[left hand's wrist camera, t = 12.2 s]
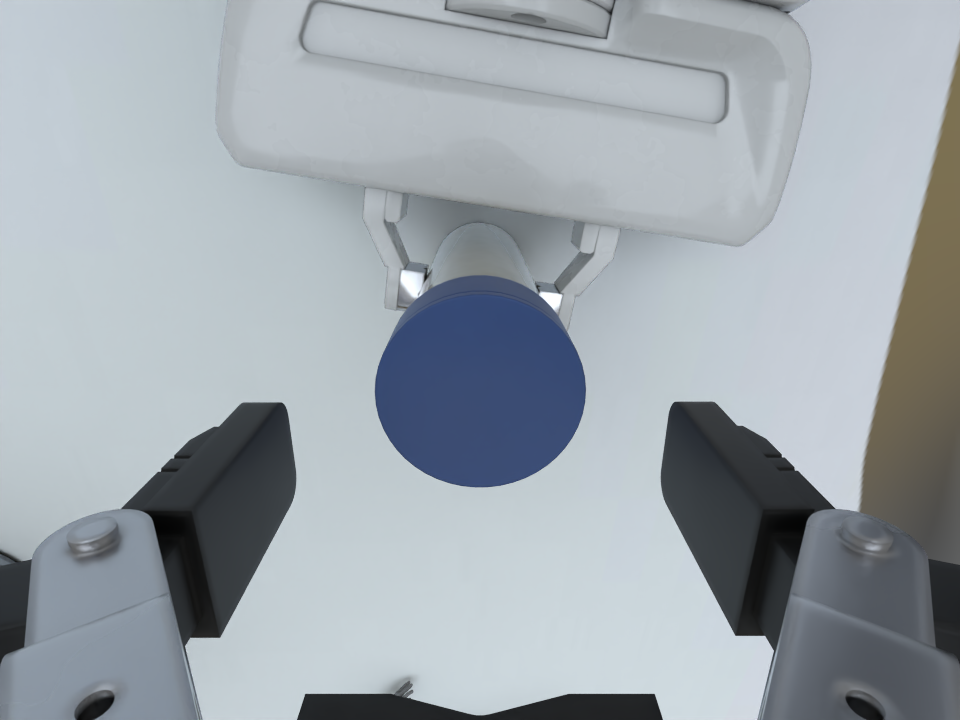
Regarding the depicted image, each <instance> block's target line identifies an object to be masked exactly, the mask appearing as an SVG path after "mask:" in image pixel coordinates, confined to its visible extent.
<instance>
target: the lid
mask: <svg viewBox="0 0 960 720" xmlns="http://www.w3.org/2000/svg"><path fill="white" fill-rule="evenodd" d="M585 395H586V385H585V375H584V371H583V367H582V363H581V361H580V358H579V355H578V353H577V351H576V349H575V347H574V345H573V343H572V341H571V339H570V337H569V335H568V333H567V331H566V329H565V327H564V325H563V323H562V322H561V320H560V318H559V316H558V315H557V313H556V312H555V311H554V310H553V308H552V307H551V306H550V305H549V304H548V303H547V302H546V301H545V300H544V299H543V298H542V297H541V296H539V295H538V294H537V293H535V292H534V291H533V290H531V289H529V288H527V287H526V286H524V285H522V284H520V283H517V282H515V281H512V280H509V279H505V278H501V277H497V276H488V275H471V276H464V277H459V278H455V279H451V280H448V281H445V282H443V283H441V284H438V285H436V286H434V287H433V288H431V289H429V290H428V291H426V292H425V293H423V294H422V295H421V296H420V297H418V298H417V299H416V300H415V301H414V302H413V303H412V304H411V305H410V306H409V307H408V308H407V310H406V311H405V312H404V314H403V315H402V317H401V318H400V320H399V322H398V324H397V325H396V327H395V329H394V331H393V334H392V336H391V338H390V340H389V342H388V344H387V346H386V348H385V350H384V353H383V355H382V358H381V360H380V363H379V366H378V370H377V375H376V381H375V399H376V407H377V411H378V416H379V419H380V421H381V424H382V427H383V429H384V431H385V433H386V434H387V436H388V438H389V440H390V441H391V443H392V444H393V445H394V447H395V448H396V449H397V450H398V452H399V453H400V454H401V455H402V456H403V457H404V458H405V459H406V460H407V461H409V462H410V463H411V464H412V465H414V466H415V467H416V468H418V469H419V470H421V471H423V472H424V473H426V474H428V475H430V476H432V477H434V478H436V479H439V480H442V481H445V482H447V483H451V484H455V485H460V486H468V487H493V486H501V485H505V484H509V483H513V482H516V481H519V480H521V479H524V478H526V477H528V476H530V475H532V474H534V473H536V472H538V471H539V470H541V469H542V468H544V467H545V466H547V465H548V464H549V463H550V462H552V461H553V460H554V459H555V458H556V457H557V456H558V455H559V454H560V453H561V452H562V451H563V450H564V449H565V447H566V446H567V445H568V443H569V442H570V440H571V439H572V437H573V435H574V434H575V432H576V430H577V428H578V426H579V423H580V420H581V417H582V414H583V410H584V405H585Z"/></svg>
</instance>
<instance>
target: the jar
mask: <svg viewBox="0 0 960 720" xmlns="http://www.w3.org/2000/svg"><path fill="white" fill-rule="evenodd" d="M471 275H488V276H497V277H501V278H505V279H509V280H512V281H515V282H517V283H520V284H522V285H524V286H526V287H527V288H529V289H531V290H533V291H534V292H535V293H537V294H538V295H539V296H540V294H539V292H538V290H537V288H536V285H535V283H534V281H533V279H532V276H531V274H530V272H529V270H528V267H527V265H526V263H525V261H524V258H523V256H522V254H521V252H520V249H519V247H518V245H517V244H516V242H515V241H514V239H513V238H512V237H511V236H510V235H509V234H508V233H507V232H506V231H504V230H503V229H501V228H499V227H497V226H495V225H492V224H488V223H469V224H466V225H463V226H460V227H458V228H457V229H455V230H453V231H452V232H451V233H450V234H448V236H447V237H446V238H445V239H444V240H443V242H442V243H441V245H440V247H439V248H438V251H437V253H436V256H435V258H434V260H433V263H432V265H431V268H430V270H429V273H428V275H427V277H426V280H425V282H424V285H423V287H422V289H421V292H420V294H419V297H420V296H421V295H422V294H423V293H425V292H426V291H428V290H429V289H431V288H433V287H434V286H436V285H438V284H441V283H443V282H445V281H448V280H451V279H455V278H459V277H464V276H471Z"/></svg>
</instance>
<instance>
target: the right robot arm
mask: <svg viewBox="0 0 960 720" xmlns="http://www.w3.org/2000/svg"><path fill="white" fill-rule="evenodd" d="M808 1H810V0H228V2H227V7H226V13H225V20H224V27H223V33H222V41H221V49H220V58H219V67H218V80H217V96H216V130H217V134H218V136H219V138H220V140H221V141H222V143H223V144H224V146H225V147H226V149H227V150H228V152H229V153H230V155H231V156H232V157H233V159H234V160H235V161H236V163H237V164H239V165H240V166H243V167H247V168H253V169H259V170H265V171H272V172H278V173H284V174H290V175H296V176H302V177H308V178H315V179H321V180H327V181H333V182H339V183H345V184H352V185H358V186H364V187H365V196H364V208H363V220H364V222H365V225H366V227H367V229H368V231H369V233H370V235H371V238H372V240H373V242H374V244H375V246H376V248H377V251H378V253H379V255H380V257H381V259H382V261H383V264H384V266H386V267H388V271H387V282H386V292H385V302H384V304H385V308H386V309H391V310H396V311H397V310H399V311H406V310H407V308H408V307H409V306H410V305H411V304H412V303H413V302H414V301H415V300H416V299H417V298H418V297H419V294H420V292H421V289H422V287H423V285H424V282H425V280H426V277H427V274H428V265H427V264H421V263H415V262H410V260H409V258H408V255H407V253H406V250H405V248H404V245H403V243H402V241H401V238H400V236H399V233H398V231H397V228H396V226H395V223H397V222H399V221H400V220H401V219H402V218H403V217H405V216H406V214H407V205H408V197H409V194H413V195H419V196H426V197H432V198H438V199H444V200H450V201H456V202H462V203H469V204H475V205H481V206H487V207H493V208H499V209H506V210H512V211H518V212H524V213H530V214H536V215H543V216H549V217H555V218H561V219H567V220H573V221H575V223H574V228H573V233H572V238H571V242H572V244H573V245H574V246H575V247H576V248H577V249H578V250H579V251H580V252H579V253H578V255H577V256H576V257H575V258H574V259H573V261H572V262H571V263H570V264H569V265H568V267H567V268H566V269H565V270H564V271H563V273H562V274H561V275H560V276H559V277H558V279H557V280H556V281H555V282H554V284H551V283H544V282H536V281H535V285H536V288H537V290H538V292H539V294H540V296H541V297H542V298H543V299H544V300H545V301H546V302H547V303H548V304H549V305H550V306H551V307H552V308H553V310H554V311H555V312H556V313H557V315H558V316H559V318H560V320H561V322H562V323H563V325H564V327H565V329H566V331H568V328H569V324H570V319H571V315H572V310H573V306H574V301H575V297H576V296H579V295H580V294H581V293H582V292H583V291H584V290H585V289H586V288H587V287H588V286H589V285H590V284H591V282H592V281H593V280H594V279H595V278H596V277H597V276H598V275H599V274H600V273H601V272H602V271H603V269H604V268H605V267H606V266H607V265H608V264H609V263H610V262H611V261H612V260H613V259H614V255H615V251H616V246H617V242H618V238H619V234H620V230H621V228H623V229H629V230H635V231H641V232H647V233H653V234H660V235H666V236H672V237H678V238H684V239H690V240H697V241H703V242H709V243H715V244H721V245H728V246H734V247H740V246H743V245H745V244H746V243H748V242H749V241H750V240H752V239H753V238H754V237H755V236H756V235H758V234H759V233H760V232H761V231H762V230H763V229H765V228H766V227H767V226H768V225H769V224H770V222H771V221H772V219H773V217H774V215H775V213H776V211H777V208H778V206H779V203H780V200H781V197H782V194H783V191H784V188H785V185H786V182H787V178H788V175H789V172H790V168H791V165H792V161H793V157H794V154H795V150H796V146H797V142H798V138H799V134H800V130H801V126H802V121H803V117H804V112H805V108H806V103H807V98H808V92H809V87H810V79H811V54H810V47H809V43H808V40H807V37H806V35H805V33H804V31H803V29H802V28H801V26H800V25H799V24H798V23H797V22H796V21H795V20H794V19H793V18H792V17H791V16H790V15H788V14H789V13H790V12H792V11H794V10H796V9H797V8H799V7H800V6H802V5H803V4H805V3H807V2H808Z"/></svg>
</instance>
